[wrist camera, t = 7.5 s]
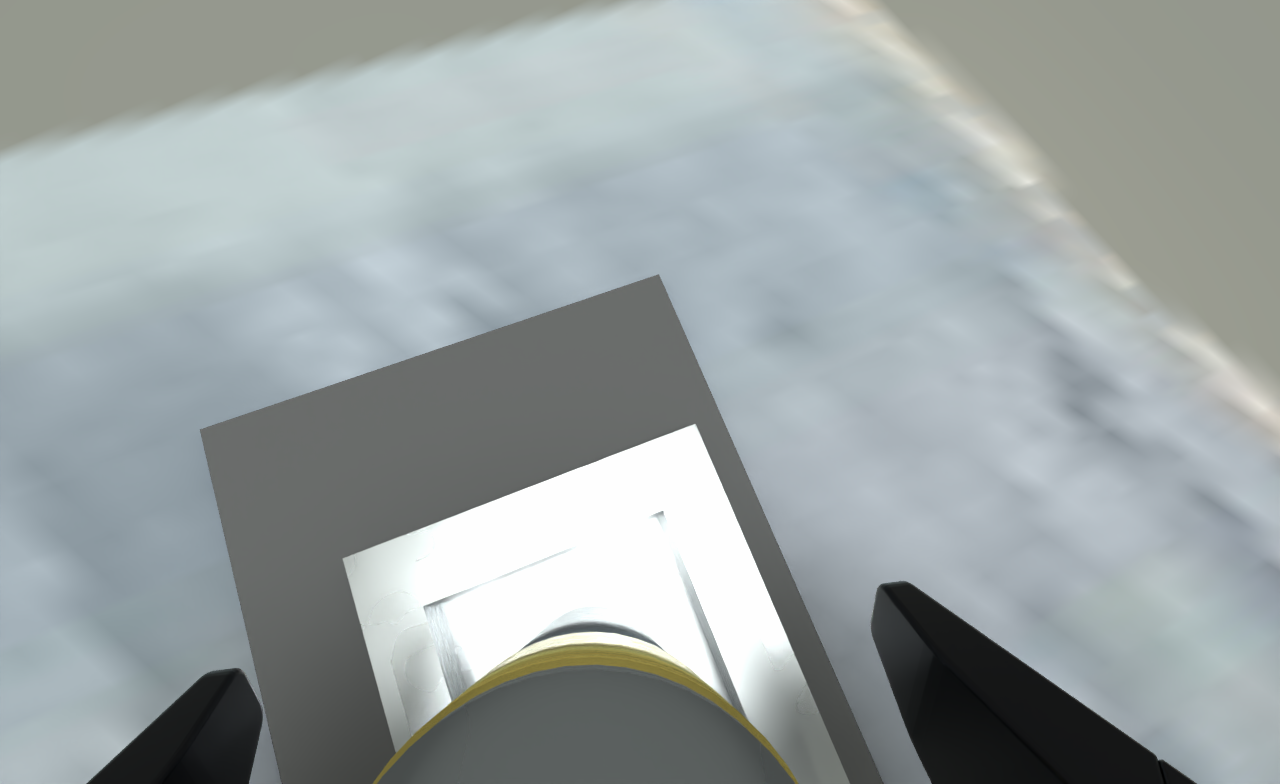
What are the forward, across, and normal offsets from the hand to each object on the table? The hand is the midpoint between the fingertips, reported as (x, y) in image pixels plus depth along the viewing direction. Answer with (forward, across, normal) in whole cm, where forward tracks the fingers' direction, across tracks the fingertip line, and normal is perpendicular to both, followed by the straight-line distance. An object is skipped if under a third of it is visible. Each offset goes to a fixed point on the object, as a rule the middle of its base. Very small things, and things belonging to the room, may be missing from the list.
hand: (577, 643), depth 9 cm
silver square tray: (+5, 0, +7) cm, 9 cm away
